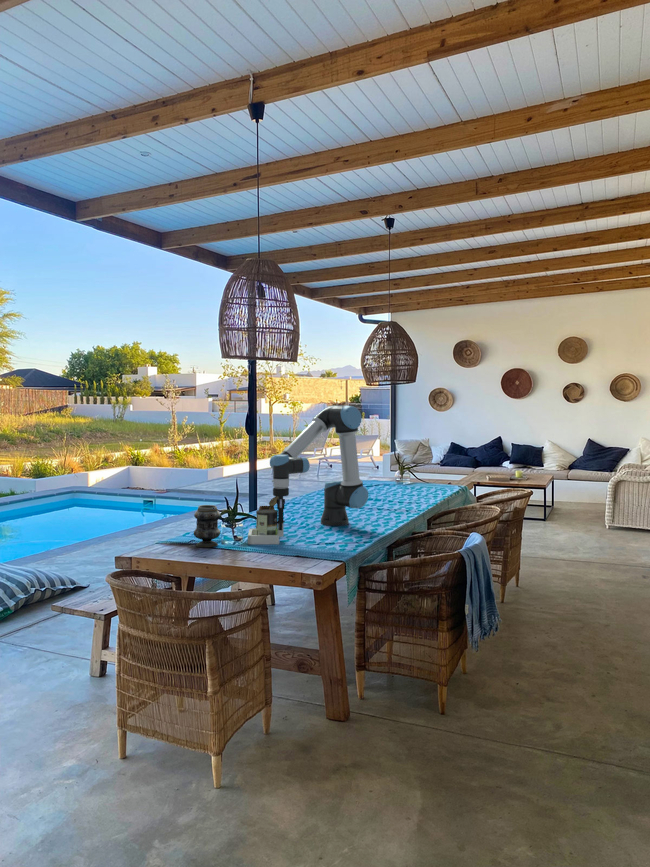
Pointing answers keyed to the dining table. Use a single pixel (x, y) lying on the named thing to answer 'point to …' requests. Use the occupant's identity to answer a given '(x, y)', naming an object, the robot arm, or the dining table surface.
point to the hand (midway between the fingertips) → (280, 536)
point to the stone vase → (207, 525)
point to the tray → (262, 538)
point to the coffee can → (266, 522)
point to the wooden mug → (271, 503)
